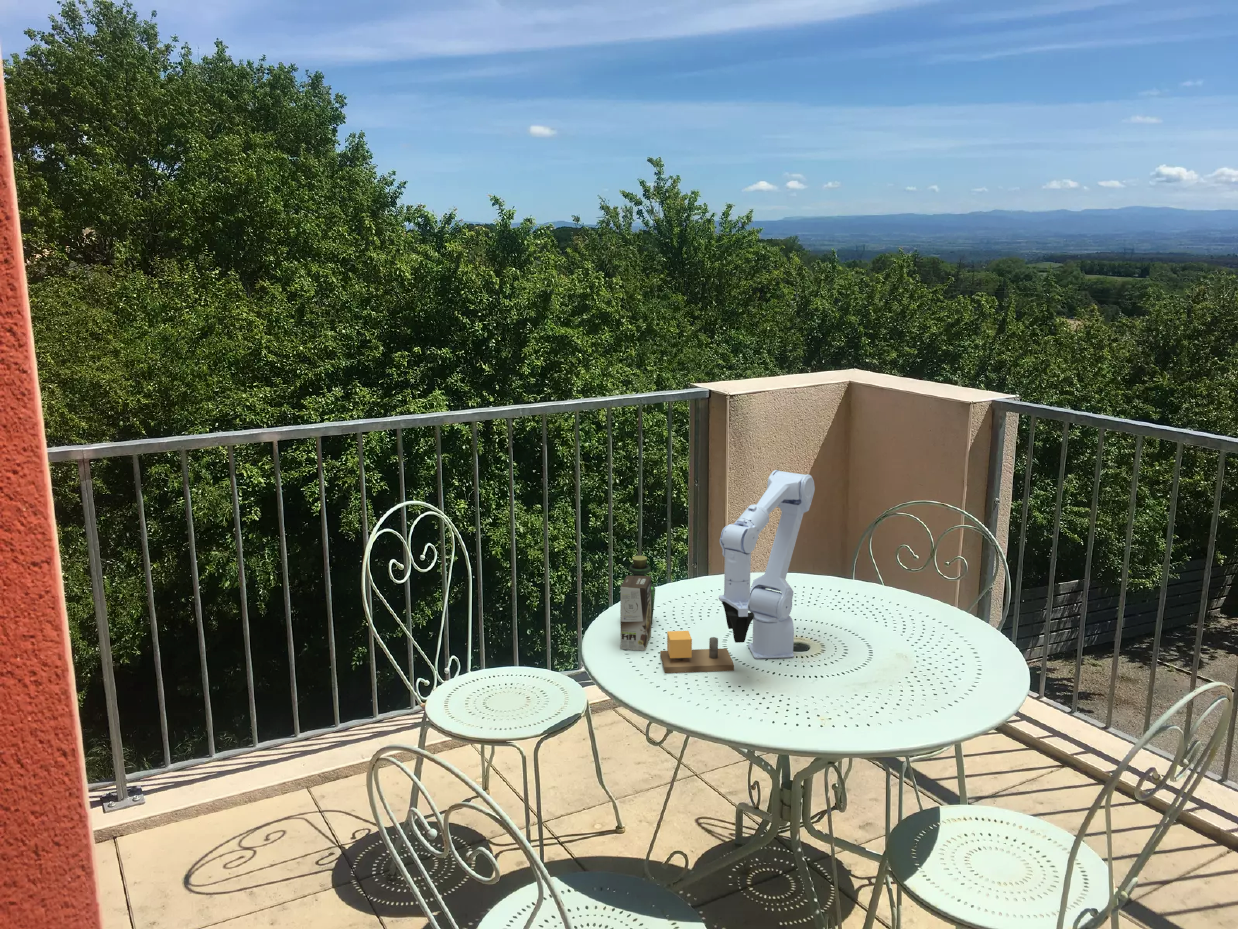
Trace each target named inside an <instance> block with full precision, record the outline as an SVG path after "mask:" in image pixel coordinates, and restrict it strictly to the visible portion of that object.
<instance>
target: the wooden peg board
mask: <svg viewBox="0 0 1238 929" xmlns="http://www.w3.org/2000/svg"><path fill="white" fill-rule="evenodd" d="M708 640H709V641H708V642H709V648H703V649H702V648H701V649H699V648H698V649H692V658H670V657H669V653H668V650H660V652H659V653H660V654H659V656H660V661H661V664H662V668H663V671H664V674H680V673H681V674H682V673H707V672H733V671H735V663H734V662H733V659H732V657H731V654H730V652H729V650H728V648H725V647H724V648H719V638H718V637H714V636H713V637H710V638H709V639H708Z"/></svg>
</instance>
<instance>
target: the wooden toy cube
mask: <svg viewBox="0 0 1238 929" xmlns="http://www.w3.org/2000/svg"><path fill="white" fill-rule="evenodd" d="M666 640H667V641H666V645H667V646H666V651H668V653H669V657H670V658H692V650H693V648H692V647H693V639H692V636H691V634H690V630H673V631H672V630H671V631H669V630H667V637H666Z"/></svg>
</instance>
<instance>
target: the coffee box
mask: <svg viewBox="0 0 1238 929" xmlns="http://www.w3.org/2000/svg"><path fill="white" fill-rule="evenodd" d="M651 583H652V576H649V575H646V576H633V575H629V574H628V575H626V576H625V578H624V580H623V581H622V584H620V586H619V588H620V599H619V600H620V601H619V602H620V605H619V606H620V611H619V612H620V618H619V619H620V649H621V650H629V651H630V650H631V651H641V652H645V651H646V649H647V647H648V645H649V642H650V641H651V637H652V625H651Z"/></svg>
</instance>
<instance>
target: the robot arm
mask: <svg viewBox="0 0 1238 929" xmlns="http://www.w3.org/2000/svg"><path fill="white" fill-rule="evenodd" d="M766 485H767V486H766V487H767V488H766V490H765V491H764V493H763V494H762V495H761V497H760V499H759V500H758V502H757V503H756V504H755V503H753V504H750V505H748V507H746V509H745V510H744V511H743V512H742V514H740V516H739V517H738V518H737V519H736V520H735V522H734V523H730V524H728V525H725V526H724V527H723V528H722V530H721V534H720V538H719V545H720V547H721V549H722V553H721V555H722V556H723V557H724V574H723V576H724V578H723V579H724V582H723V583H724V584H723V586H724V587H723V588H724V590H723V594H720V595H719V596H718V599H719V602H721V604H722V606H723V611H724V613H725V619H726V620H725V621H726V624H727V628H728V629H729V630H732V636H733V641H734V643H740V644H741V643H745V641H746V637H747V634H748V630H749V627H750V625H751V623H752V642H751V643H750V642H749V643H747V647H748V648H749V650H750V652H751V654H752V656H753V658H754V659H757V660H758V659H780V658H781V659H783V658H794V657H795V655H794V638H795V633H794V632H795V630H794V629H795V628H794V622H793V618H792V616H790V615H791V612H792V609H793V597H794V590H793V588H792V586H791V585H790V584H789V583H788V581H787V580H786V579H787V575H788V571H789V569H790V568H789V567H790V565H791V561H792V557H793V553H794V549H795V546H796V542H797V539H798V535H799V531H800V528H801V524H802V520H803V516H804V514H805V513H807V512H809V511H810V508H811V505H812V501H813V497H814V494H815V491H816V490H815V489H816V486H815V481H814V479H813V476H812V475H811V474H807V473H806V474H802V473H796V472H790V471H789V472H788V471H782V470H780V469H775V470H773V471H772V472H771V473H770V474H769V476H768V478H767V484H766ZM776 508H779V510H780V511H781V515H780V518H779V522H778V525H777V529H776V532H775V535H774V540H773V542H772V547H771V550H770V553H769V558H768V559H767V560H768V561H767V564H766V568H765V572H764V574H762V575H760V576H758V577H757V578H755V579H753V581H752V583H751V566H752V565H751V562H752V561H751V560H752V552H753V551H754V550H755V548H756V545H757V541H758V540H759V538H760V537H759V535H760V534H761V532H762V531H763V529H764V528H765V527H766V526H767V525H768V523H769V522H770V514H771V513H772V512H773V510H775V509H776Z"/></svg>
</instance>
